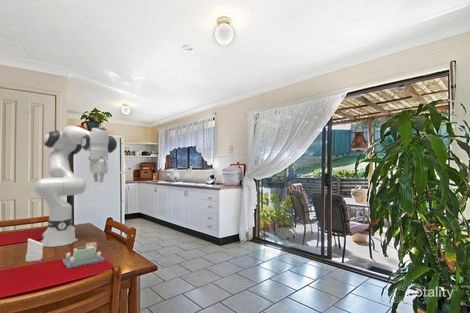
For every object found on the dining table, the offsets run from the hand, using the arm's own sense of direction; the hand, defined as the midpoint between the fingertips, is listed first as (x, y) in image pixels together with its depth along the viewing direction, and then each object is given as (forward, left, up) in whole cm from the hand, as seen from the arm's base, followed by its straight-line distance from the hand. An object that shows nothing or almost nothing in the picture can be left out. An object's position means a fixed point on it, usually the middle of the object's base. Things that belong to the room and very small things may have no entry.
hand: (98, 182), depth 142 cm
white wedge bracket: (-5, -26, -37) cm, 46 cm away
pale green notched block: (+13, -9, -36) cm, 39 cm away
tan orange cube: (+2, -3, -37) cm, 37 cm away
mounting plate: (+13, -9, -37) cm, 40 cm away
